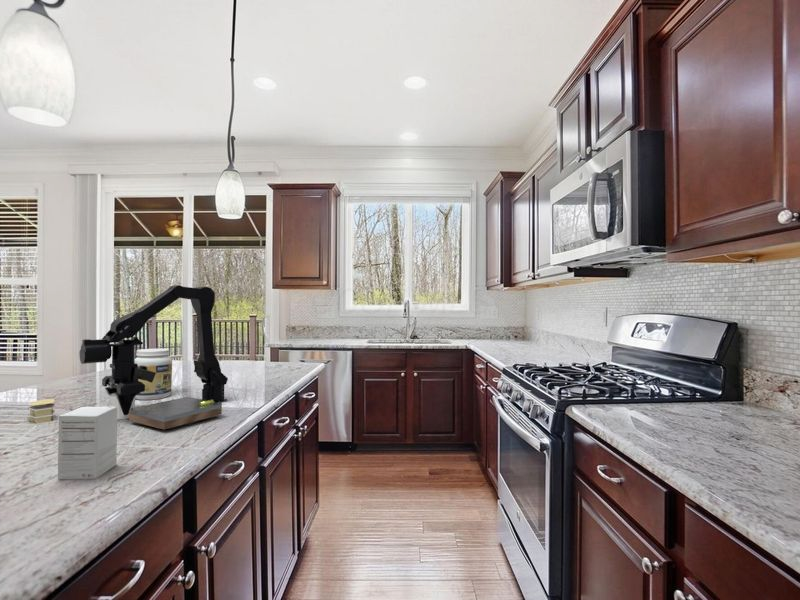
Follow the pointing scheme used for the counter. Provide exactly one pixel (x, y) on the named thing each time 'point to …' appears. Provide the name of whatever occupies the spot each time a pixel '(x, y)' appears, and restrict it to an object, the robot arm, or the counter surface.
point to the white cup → (115, 403)
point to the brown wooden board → (176, 422)
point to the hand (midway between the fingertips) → (122, 412)
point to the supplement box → (87, 442)
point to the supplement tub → (162, 366)
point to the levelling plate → (175, 408)
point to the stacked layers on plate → (41, 410)
